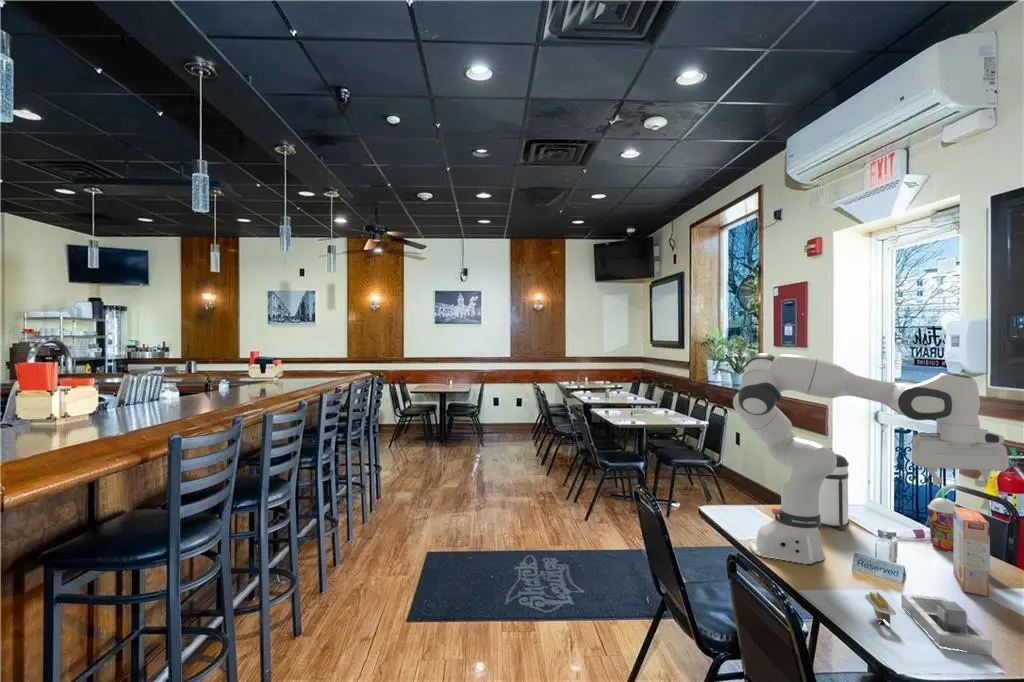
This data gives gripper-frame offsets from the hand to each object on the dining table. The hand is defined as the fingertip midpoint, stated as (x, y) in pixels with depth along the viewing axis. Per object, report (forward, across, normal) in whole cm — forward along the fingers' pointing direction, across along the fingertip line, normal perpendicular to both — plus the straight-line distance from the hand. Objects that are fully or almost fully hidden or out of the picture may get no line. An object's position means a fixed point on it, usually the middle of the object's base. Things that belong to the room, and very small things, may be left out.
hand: (958, 485), depth 138 cm
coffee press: (+33, -14, +62) cm, 72 cm away
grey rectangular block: (+32, -9, -17) cm, 38 cm away
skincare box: (+33, +17, +28) cm, 47 cm away
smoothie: (+33, +16, +45) cm, 58 cm away
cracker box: (+33, +10, +16) cm, 38 cm away
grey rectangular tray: (+33, -9, -13) cm, 37 cm away
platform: (+34, -23, -12) cm, 43 cm away
